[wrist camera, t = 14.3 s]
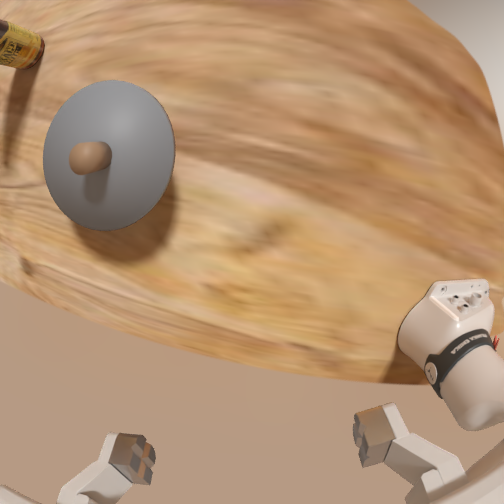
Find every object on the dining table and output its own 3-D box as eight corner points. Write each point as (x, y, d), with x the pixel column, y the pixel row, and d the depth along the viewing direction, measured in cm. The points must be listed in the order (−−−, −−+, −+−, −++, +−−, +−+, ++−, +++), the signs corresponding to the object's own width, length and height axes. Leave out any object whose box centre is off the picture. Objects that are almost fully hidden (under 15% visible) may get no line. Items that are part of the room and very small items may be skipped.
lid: (161, 61, 25) (147, 49, 20) (190, 212, 31) (180, 224, 26) (39, 113, 25) (14, 112, 21) (66, 240, 31) (45, 254, 27)
